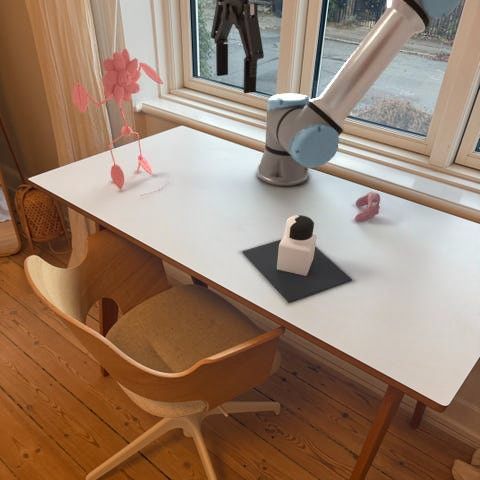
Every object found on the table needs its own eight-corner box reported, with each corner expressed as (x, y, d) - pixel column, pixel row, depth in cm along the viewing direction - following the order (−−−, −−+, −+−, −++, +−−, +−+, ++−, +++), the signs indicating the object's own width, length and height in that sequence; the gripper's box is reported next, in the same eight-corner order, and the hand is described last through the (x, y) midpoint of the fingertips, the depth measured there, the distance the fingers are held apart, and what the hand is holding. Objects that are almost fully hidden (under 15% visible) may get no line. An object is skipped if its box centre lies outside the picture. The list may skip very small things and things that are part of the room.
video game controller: (367, 229, 125) (384, 209, 120) (353, 220, 124) (369, 200, 119) (367, 210, 132) (383, 191, 127) (354, 202, 131) (370, 183, 126)
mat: (300, 235, 120) (300, 233, 119) (351, 280, 106) (352, 279, 106) (242, 252, 114) (242, 250, 113) (288, 303, 100) (288, 301, 100)
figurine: (87, 191, 134) (56, 55, 110) (156, 162, 148) (142, 37, 124) (119, 210, 127) (94, 69, 103) (189, 178, 141) (181, 48, 117)
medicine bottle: (313, 259, 111) (320, 215, 103) (306, 276, 106) (313, 231, 98) (284, 253, 113) (288, 209, 105) (276, 270, 108) (280, 225, 100)
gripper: (193, -38, 100) (198, 70, 114) (250, -21, 84) (247, 102, 99) (225, -40, 102) (225, 67, 117) (285, -23, 87) (277, 97, 101)
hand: (235, 83), depth 108 cm, fingers open, 13 cm apart
